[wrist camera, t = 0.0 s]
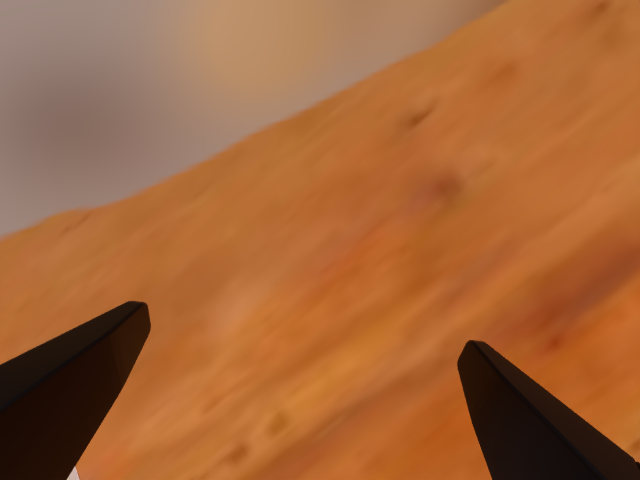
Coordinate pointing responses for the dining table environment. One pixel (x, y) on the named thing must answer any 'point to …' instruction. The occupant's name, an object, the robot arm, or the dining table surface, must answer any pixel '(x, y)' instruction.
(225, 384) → the dining table surface
